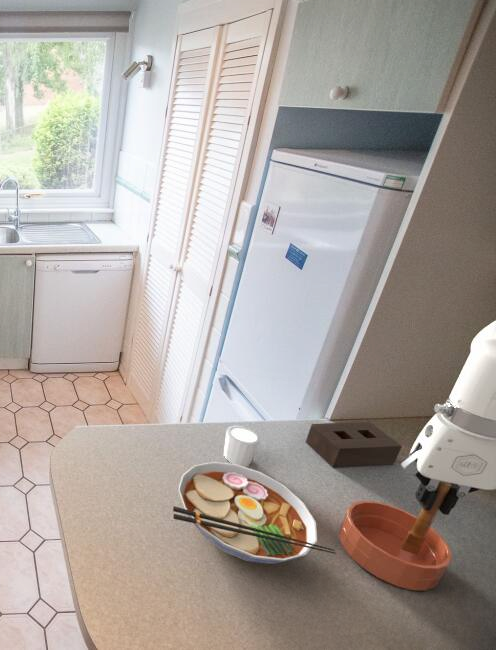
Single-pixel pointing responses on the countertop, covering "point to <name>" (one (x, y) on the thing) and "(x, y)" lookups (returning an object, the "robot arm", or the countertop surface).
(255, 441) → the white short cylinder
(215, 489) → the ramen bowl
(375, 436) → the holder
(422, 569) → the baking dish
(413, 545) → the stick
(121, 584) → the countertop surface
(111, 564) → the countertop surface
